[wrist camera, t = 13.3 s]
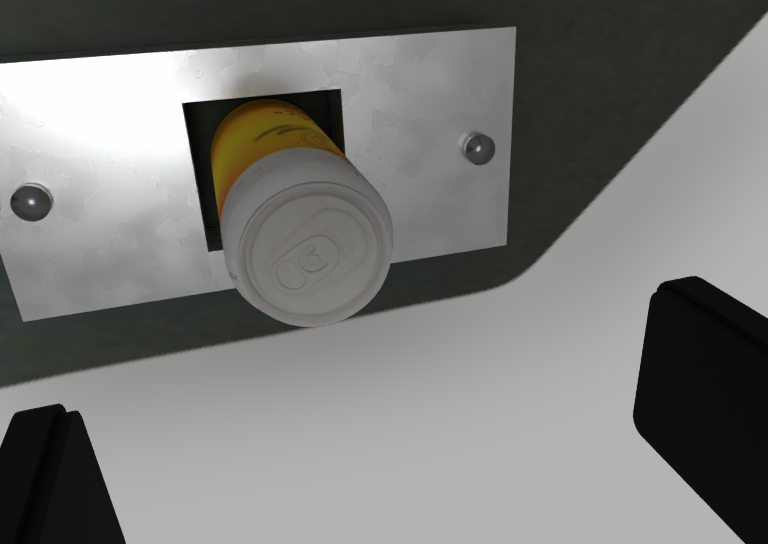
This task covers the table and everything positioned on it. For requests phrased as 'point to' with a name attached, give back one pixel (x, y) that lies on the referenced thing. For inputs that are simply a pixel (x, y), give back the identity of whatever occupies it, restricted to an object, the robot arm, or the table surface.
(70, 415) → the robot arm
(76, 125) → the gray block with hole
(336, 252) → the beer can
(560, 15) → the table surface
